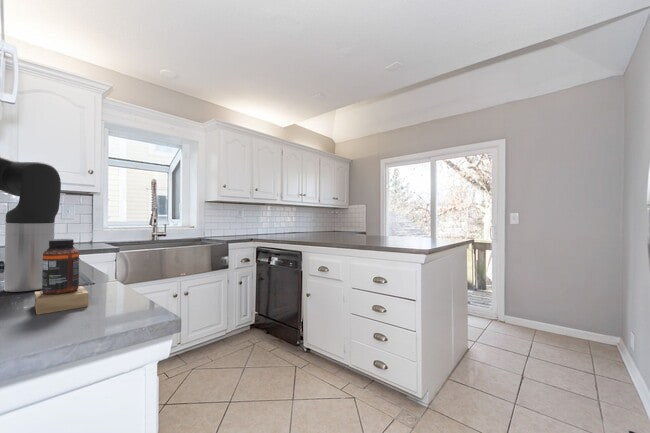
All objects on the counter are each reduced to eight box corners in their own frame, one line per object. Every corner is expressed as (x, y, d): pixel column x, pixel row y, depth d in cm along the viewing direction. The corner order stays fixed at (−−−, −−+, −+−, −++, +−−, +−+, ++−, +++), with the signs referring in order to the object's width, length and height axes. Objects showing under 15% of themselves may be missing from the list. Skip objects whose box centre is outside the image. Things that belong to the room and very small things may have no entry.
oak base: (34, 305, 64) (34, 291, 64) (81, 298, 70) (82, 285, 70) (36, 314, 58) (37, 298, 58) (88, 306, 64) (88, 291, 64)
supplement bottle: (77, 287, 68) (78, 238, 68) (80, 292, 64) (81, 239, 64) (41, 291, 64) (42, 238, 64) (41, 296, 60) (43, 240, 60)
